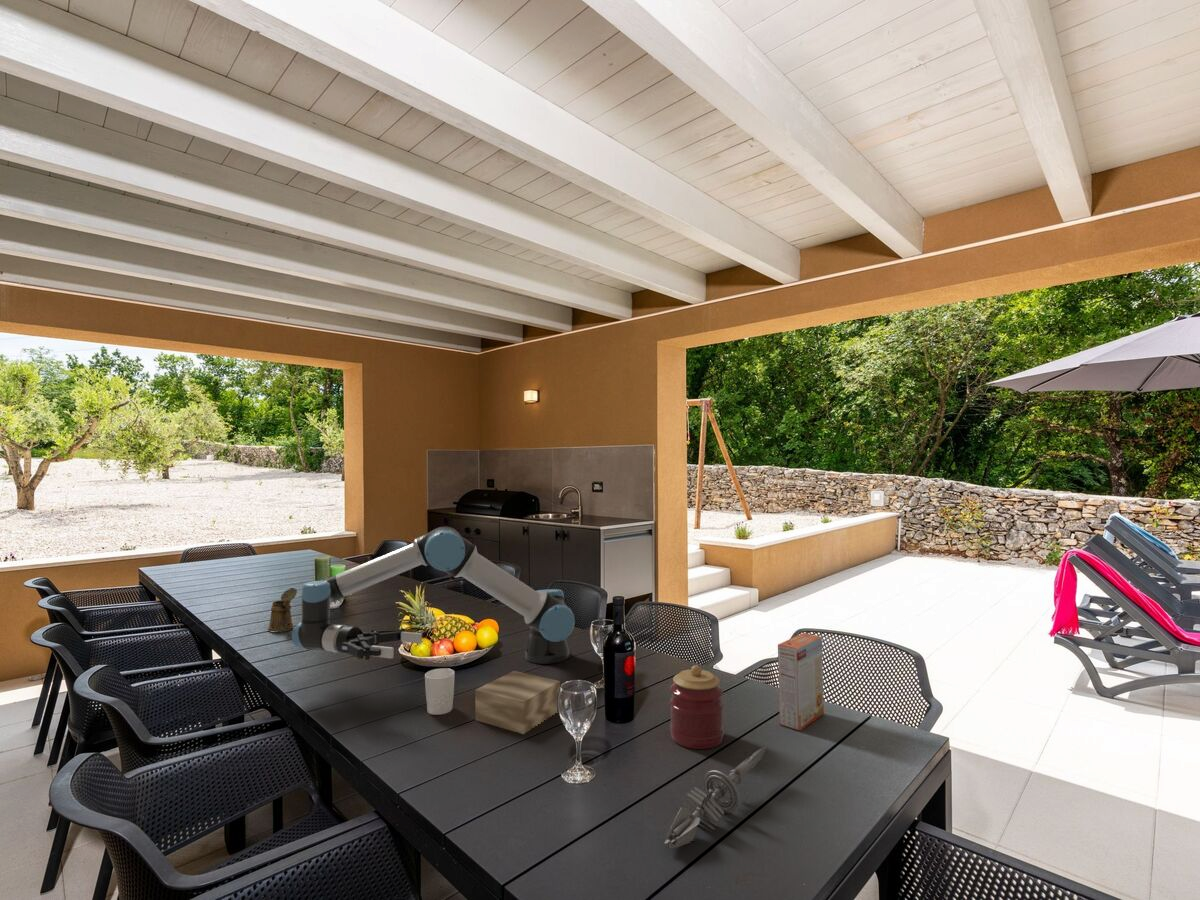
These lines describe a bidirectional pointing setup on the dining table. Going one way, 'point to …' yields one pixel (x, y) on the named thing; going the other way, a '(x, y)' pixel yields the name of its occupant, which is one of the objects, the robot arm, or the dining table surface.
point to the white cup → (439, 690)
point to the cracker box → (800, 681)
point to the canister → (696, 709)
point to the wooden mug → (282, 612)
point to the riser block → (516, 701)
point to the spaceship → (710, 801)
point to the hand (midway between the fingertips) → (407, 645)
